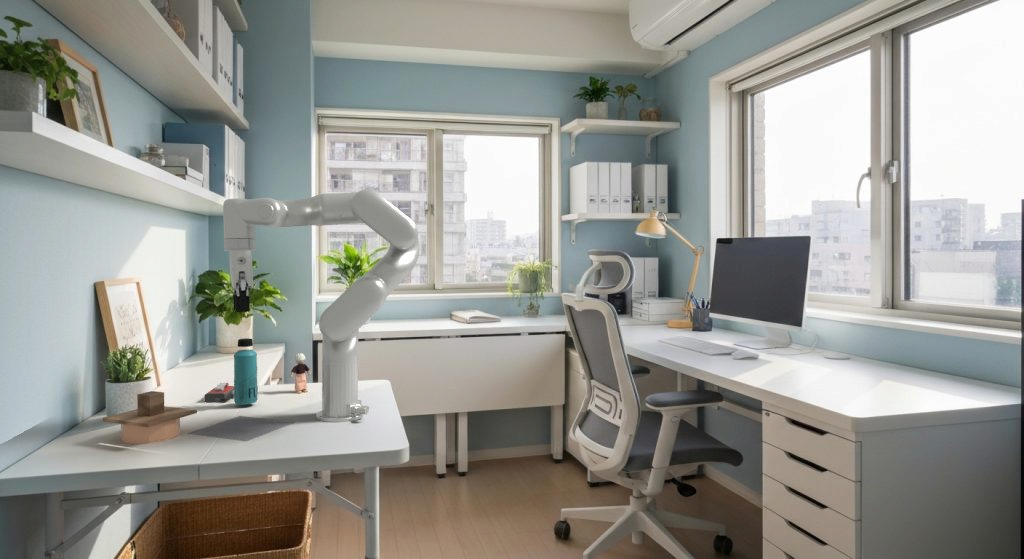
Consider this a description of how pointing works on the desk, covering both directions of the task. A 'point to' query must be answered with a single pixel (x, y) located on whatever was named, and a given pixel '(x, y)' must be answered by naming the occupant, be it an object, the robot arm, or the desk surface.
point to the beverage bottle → (245, 374)
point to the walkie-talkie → (220, 393)
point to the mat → (241, 428)
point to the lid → (150, 411)
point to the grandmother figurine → (300, 374)
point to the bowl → (150, 432)
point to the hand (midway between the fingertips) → (241, 310)
